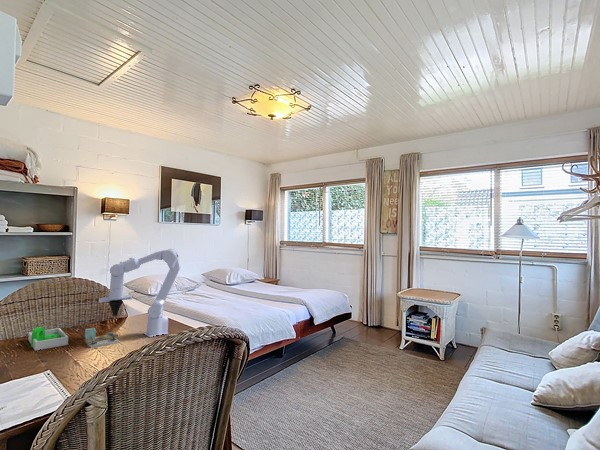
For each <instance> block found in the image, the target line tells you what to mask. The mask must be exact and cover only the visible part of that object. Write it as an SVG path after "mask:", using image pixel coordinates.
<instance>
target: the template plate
mask: <svg viewBox="0 0 600 450" xmlns="http://www.w3.org/2000/svg"><path fill="white" fill-rule="evenodd" d="M119 343H120V340H119V339H116V338H115V339H113V338H112V339H106V340H100V341H95V342H94V343H92V342H89V343H87V344H86V345H87V347H88V348H90V349H94V348H98V347H103V346H108V345H113V344H119Z"/></svg>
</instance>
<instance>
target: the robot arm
mask: <svg viewBox="0 0 600 450" xmlns="http://www.w3.org/2000/svg"><path fill="white" fill-rule="evenodd" d="M179 257H180V255H179V254H178V252H177V251H176V250H175V249H173V248H168V249H164V250H159V251H156V252H155V251H154V252H153V253H150V254H148V255H145V256H143V257H140V258H137V257H129V259H127V260H124V261H122V260H121V261H120V262H119V263H115V264H113V265H112V266H111V267H110V269H109V273H110V285H109V296H105V297H99V298H98V303H99V304H101V303H106V302H107V303H108V304H109V306H110V308H111V313H112V316H113V317H117V316H118V312H119V311H120V308H121V306H122V305H123V303H124V301H126V300H133V295H132V294H127V295H123V294H124V281H125V280H124V275H125V273H129V272H133V271H135V270H138V269H140V267H141V265H143V264H146V263H149V262H152V261H154V260H157V261H162V260H163V261H164V262H165V263H166V265H167V266H168V268H169V270H168V272H167V274H166V276H165V279H164V281H163V283H162V285H161V286H160V289H159V291H158V293H157V296H156V297H155V299H154V301H153V303H152V304H151V306H150V307H149V308H148V310H147V323H146V331H145V332H143V335H145V336H147V337H148V338H152V337H153V336H154V337H157V336H156V335H159V336H163V335H162V334H164V335H169V332H168V331H169V318H168V316H167V315H164V314H163V311H164V308H165V307H164V305H165V302H166V300H167V297H168V295H169V293H170V292H171V289H172V287H173V285H174V283H175V280H176V279H177V276H178V274H179V271H180V269H181V263H180V258H179ZM154 337H153V338H154Z"/></svg>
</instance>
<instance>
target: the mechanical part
mask: <svg viewBox="0 0 600 450" xmlns="http://www.w3.org/2000/svg"><path fill="white" fill-rule="evenodd" d="M45 330H46V329H45V327H43V326H39V327H38V326H37V327H35V328H33V330H32V331H31V332H32V338H31V343H30V347H31V348H33V339H36V340H37V341H42V340H49V339H55V338H60V335H58V334H49V335H47V336H45Z"/></svg>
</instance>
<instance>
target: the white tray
mask: <svg viewBox="0 0 600 450" xmlns="http://www.w3.org/2000/svg"><path fill="white" fill-rule="evenodd" d="M32 332H33V331H29V332H28V340H27V341H28V342H29V344H31V338H32ZM49 334H58V335H60V338H55V339H49V340H42V341H37V340H36V339H33V347H32V348H33V350H34V351H39V350H40V349H41V350H44V349H51V348H57V347H62V346H68V345H69V336H68V335H67V334H66V333H65V332H64V330H62V329H61V328H60V327H56V328H49V329H45V336H47V335H49Z"/></svg>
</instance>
